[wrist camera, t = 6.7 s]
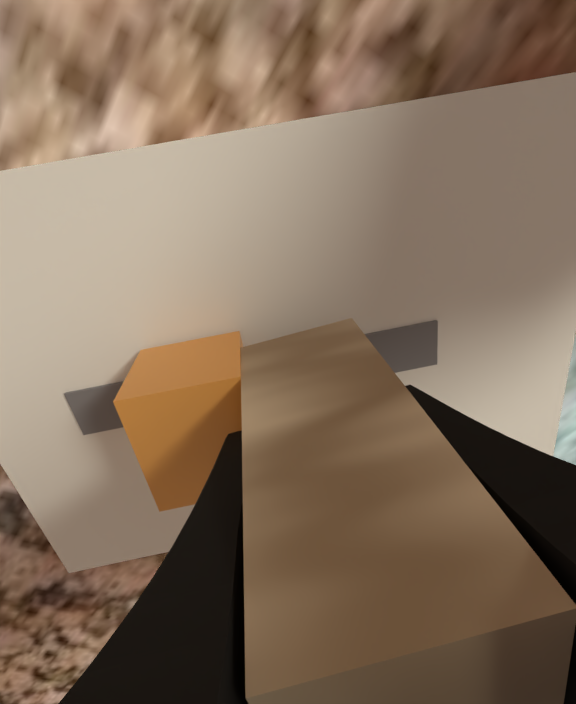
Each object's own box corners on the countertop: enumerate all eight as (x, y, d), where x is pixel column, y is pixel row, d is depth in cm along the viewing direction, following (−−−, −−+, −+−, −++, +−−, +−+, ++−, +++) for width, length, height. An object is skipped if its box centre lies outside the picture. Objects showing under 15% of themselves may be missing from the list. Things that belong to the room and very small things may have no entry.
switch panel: (586, 74, 11) (627, 62, 10) (530, 451, 17) (552, 471, 16) (-124, 196, 10) (-169, 199, 9) (79, 546, 16) (67, 575, 15)
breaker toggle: (239, 330, 12) (240, 376, 9) (261, 426, 13) (267, 488, 11) (140, 349, 12) (112, 401, 9) (174, 444, 13) (159, 511, 11)
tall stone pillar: (351, 317, 11) (578, 607, 4) (368, 410, 12) (555, 754, 5) (240, 347, 11) (244, 698, 4) (269, 437, 12) (315, 820, 5)
